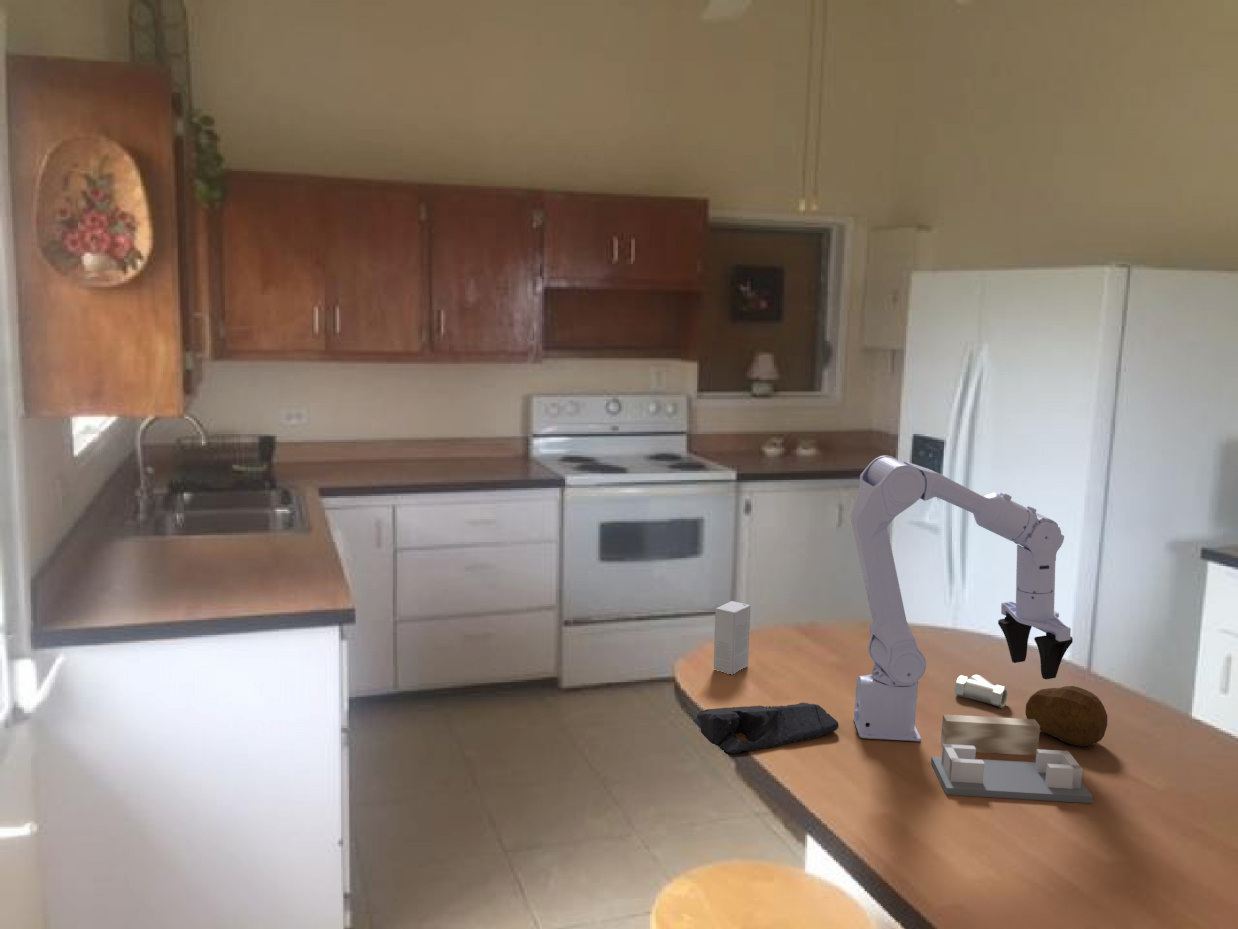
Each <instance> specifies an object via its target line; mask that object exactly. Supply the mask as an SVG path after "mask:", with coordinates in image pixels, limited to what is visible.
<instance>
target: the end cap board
mask: <svg viewBox="0 0 1238 929" xmlns="http://www.w3.org/2000/svg"><path fill="white" fill-rule="evenodd" d="M941 750H942V751H941V756H931V757H930V760H931V761H930V764H931V766H932V768H933V770H934V772H935V774H936V777H937V778H938V780H939V783H940V784H941V788H942V789H943V791H944V793H945V795H947V796H948V795H949V796H965V797H981V798H999V799H1014V800H1015V799H1017V800H1030V801H1031V800H1034V801H1047V802H1048V801H1050V802H1051V801H1052V802H1064V803H1066V802H1067V803H1083V804H1084V803H1085V804H1093V799H1094V795H1092V793H1091V792H1090V791H1089V789H1088V788H1087V786H1086V785H1085V784H1084V782H1083V780H1082V778H1083V768H1082V766H1081V765H1080V764H1079V763H1078V762H1077V760H1076V759H1075V758H1074V757H1073V755H1072V754H1071V753H1070V751H1069V750H1059V749H1058V750H1056V749H1053V750H1052V749H1039V748H1038V749H1037V752H1036V756H1035V761H1031V762H1030V761H1017V760H1016V761H1015V760H1002V759H1001V760H999V759H980V758H976V754H977V752H976V748H975V746H970V745H952V744H943V747H942V749H941Z"/></svg>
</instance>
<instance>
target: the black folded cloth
mask: <svg viewBox="0 0 1238 929" xmlns="http://www.w3.org/2000/svg"><path fill="white" fill-rule="evenodd" d="M696 715H697V716H696V718H693V719H692V722H693V723H695V724H696V725H697V726H698V727H699V729H700V732H701V734H702V735H703V737H704V738H706V739H707V741H708V742H709V743H711V745H715V746H718V748H719V749H720V750H723V751H725V752H726V753H729V754H732V755H733V754H740V753H741V752H745V751H756V750H757V749H758V750H764V749H771V748H773V747H774V746H776V747H775V748H777V747H778V746H780V745H783V744H790V743H789V742H792V743H794V742H801V741H806V740H809V739H811V738H812V739H816V738H818V737H822V735H827V734H829V733H830V732H835V731H837V730H838V729H839V726H840V724H839V722H838V720H837V719H835V718H834V717H833V716H832V715H831V714H830V713H828V712H827V711H826V710H825V709H824V708H823V707H822V706H821V705H819V704H815V703H808V702H799V703H796V704H795V703H794V704H787V705H778V706H777V705H775V706H774V705H773V706H771V705H769V706H763V705H750V706H733V707H720V708H706V709H705V710H701V711H700V712H699V713H698V714H696ZM736 734H737V735H743V736H744V738H745V739H746V740H740V739H738V737H737V736H736ZM808 738H809V739H808ZM758 750H757V751H758Z"/></svg>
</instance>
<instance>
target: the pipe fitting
mask: <svg viewBox="0 0 1238 929" xmlns="http://www.w3.org/2000/svg"><path fill="white" fill-rule="evenodd" d="M954 694H955V695H956V696H957V697H960V698H963V699H966V698H968V699H970V700H974V701H978V702H982V703H984V704H985V703H986V704H989V705H992V706H993V707H997V708H1000V709H1003V708H1004V707H1006V706H1005V705H1006V703H1007V700H1008V695H1009V691H1008V688H1007V687H1006V686H1004V685H1000V684H996V685H995V684H993V683H992V682H991V681H989V680H988V679H987V678H986V677H983V676H982V675H981V674H974V675H971V677H969V676H967V675H966V676H965V675H961V674H960V675H959V676H958V677H957V679H956V681H955V685H954Z"/></svg>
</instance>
